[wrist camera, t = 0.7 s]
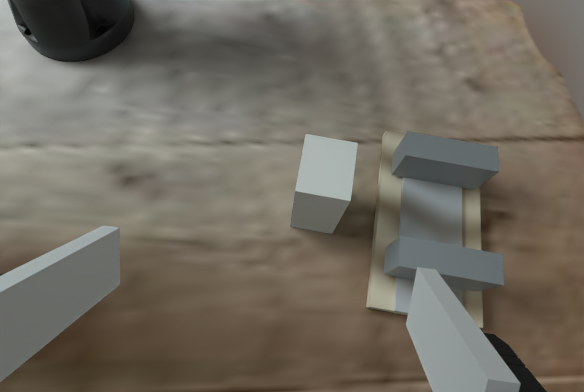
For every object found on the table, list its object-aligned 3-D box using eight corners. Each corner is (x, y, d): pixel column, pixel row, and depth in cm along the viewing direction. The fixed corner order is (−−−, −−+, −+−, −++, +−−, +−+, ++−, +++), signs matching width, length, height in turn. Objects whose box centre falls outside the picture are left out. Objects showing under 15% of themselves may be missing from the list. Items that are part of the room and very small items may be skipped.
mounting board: (382, 136, 47) (387, 127, 45) (472, 152, 47) (481, 144, 45) (366, 307, 39) (371, 306, 37) (475, 328, 39) (486, 327, 37)
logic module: (298, 180, 44) (305, 133, 34) (338, 187, 44) (357, 143, 34) (290, 226, 42) (295, 190, 32) (331, 234, 42) (350, 201, 31)
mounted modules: (393, 153, 44) (407, 131, 39) (474, 167, 43) (497, 147, 39) (383, 274, 38) (398, 265, 33) (476, 291, 38) (504, 285, 33)
